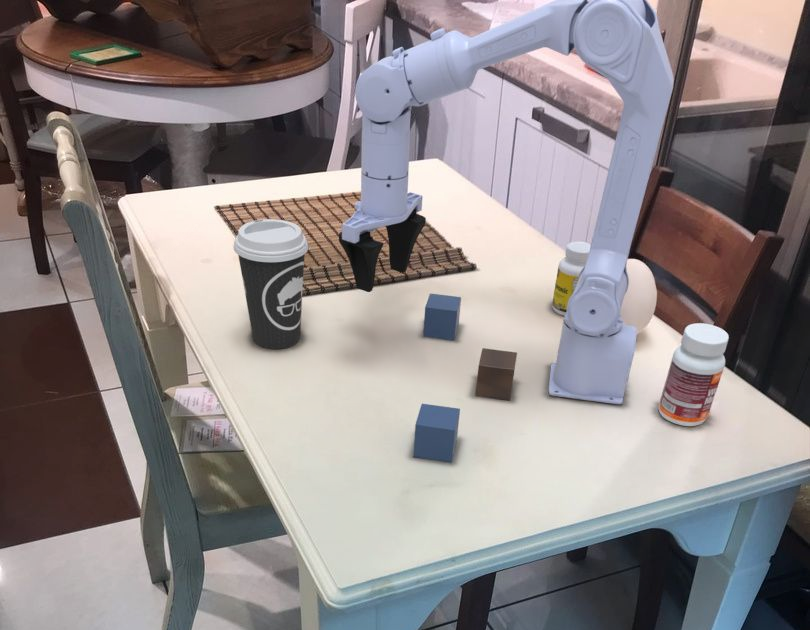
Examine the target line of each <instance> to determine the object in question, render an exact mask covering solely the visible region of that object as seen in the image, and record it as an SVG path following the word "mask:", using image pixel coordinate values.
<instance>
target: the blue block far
mask: <svg viewBox="0 0 810 630" xmlns="http://www.w3.org/2000/svg"><path fill="white" fill-rule="evenodd" d="M461 303H462V297H461V296H454V295H447V294H438V293H429V295H428V298H427V301H426V304H425V306H424V316H423V317H424V318H423V319H424V320H423V334H422V337H423V338H432V339H433V338H434V339H439V340H441V339H442V340H449V341H455V340H456V336H457V332H458V329H459V325H460V315H461V305H462V304H461Z"/></svg>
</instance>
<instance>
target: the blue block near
mask: <svg viewBox="0 0 810 630" xmlns="http://www.w3.org/2000/svg"><path fill="white" fill-rule="evenodd" d="M460 414H461V408H459V407H458V408H457V407H452V406H451V407H450V406H444V405H443V406H442V405H436V404H427V403H421V405H420V408H419V411H418V415H417V417H416V421H415V425H414V441H413V454H412V455H413V456H412V457H413V458H419V459H425V460H432V461H440V462H446V463H452V462H453V459H454V454H455V451H456V445H457V441H458V432H459V423H460Z"/></svg>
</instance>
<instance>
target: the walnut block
mask: <svg viewBox="0 0 810 630" xmlns="http://www.w3.org/2000/svg"><path fill="white" fill-rule="evenodd" d="M517 358H518V352H516V351H509V350H501V349H493V348H487V347H486V348H485V347H482V348H481V353H480V357H479V362H478V366H477V367H478V368H477V376H476V382H475V383H476V385H475V392H474V396H475V397H478V398H479V397H480V398H487V399H495V400H501V401H502V400H503V401H511V396H512V391H513V384H514V377H515V370H516V364H517V363H516V362H517Z"/></svg>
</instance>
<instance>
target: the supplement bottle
mask: <svg viewBox="0 0 810 630" xmlns="http://www.w3.org/2000/svg"><path fill="white" fill-rule="evenodd" d="M590 247H591V243H588V242H585V241H570V242H569V243H567V244H566V248H565V252H564V253H565V257H563V258H561V259H560V260H559V263H558V267H557V273H556V279H555V284H554V285H555V286H554V291H553V297H552V301H551V302H552V304H551V307H552V310H553V311H554V312H555V313H557V314H558V315H560V316H564V317H565V313H566V312H567V304H568V301H569V299H570V297H571V296H572V294H573V292H574V290H575V287H576V285H577V282H578V277H579V274H580V272H581V270H582V268H583V267H584V266H585V265H586V261H587V258H588V254H589V251H590Z"/></svg>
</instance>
